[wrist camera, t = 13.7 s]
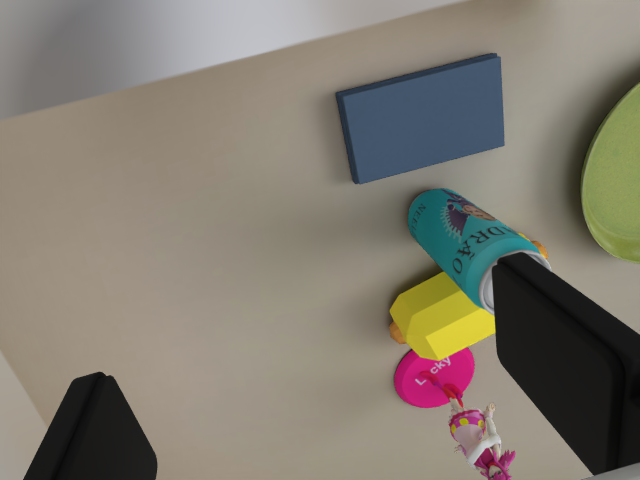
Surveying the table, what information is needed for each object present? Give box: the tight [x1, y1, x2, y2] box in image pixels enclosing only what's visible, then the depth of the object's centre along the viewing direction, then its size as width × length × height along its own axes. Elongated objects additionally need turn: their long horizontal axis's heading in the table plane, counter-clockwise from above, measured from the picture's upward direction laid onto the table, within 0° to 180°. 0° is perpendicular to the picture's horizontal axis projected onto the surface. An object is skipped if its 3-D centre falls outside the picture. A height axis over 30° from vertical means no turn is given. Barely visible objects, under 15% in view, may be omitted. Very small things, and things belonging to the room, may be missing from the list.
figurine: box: [394, 347, 515, 480], centre depth 45 cm, size 10×10×15 cm
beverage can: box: [408, 189, 552, 315], centre depth 37 cm, size 6×6×15 cm
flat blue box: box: [336, 53, 505, 184], centre depth 39 cm, size 8×14×2 cm, turn 103°
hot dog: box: [389, 233, 548, 361], centre depth 45 cm, size 18×7×8 cm
